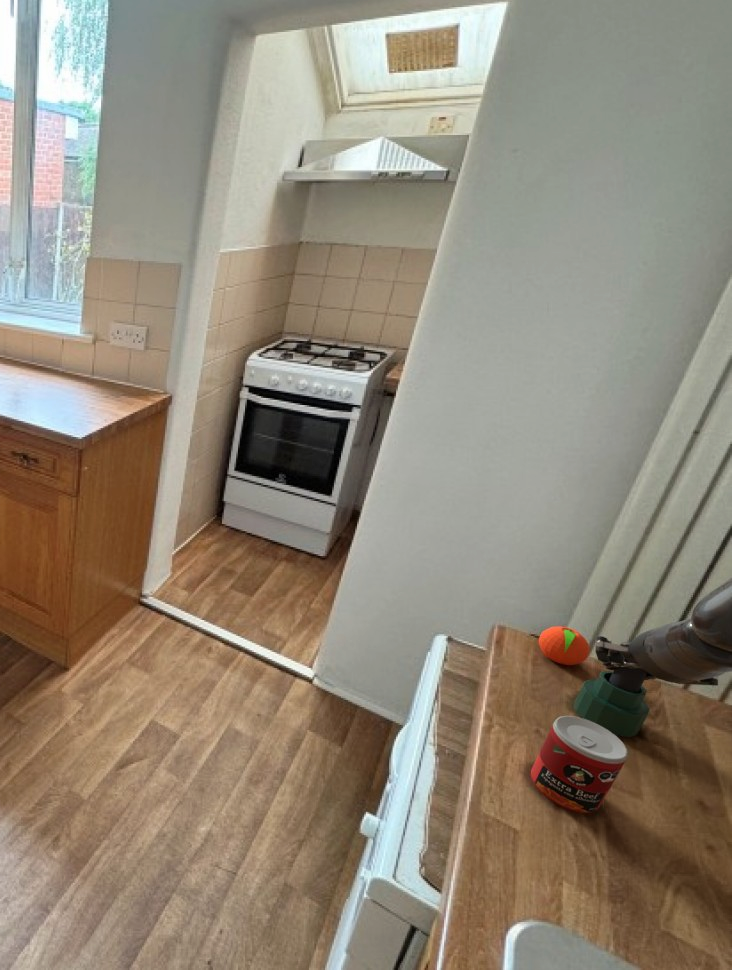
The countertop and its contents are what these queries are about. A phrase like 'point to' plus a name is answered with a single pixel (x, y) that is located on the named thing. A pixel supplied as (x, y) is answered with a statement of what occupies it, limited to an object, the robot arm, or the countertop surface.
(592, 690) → the green pipe coupling
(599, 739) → the canned food
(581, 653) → the clementine
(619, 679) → the plug
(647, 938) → the countertop surface
